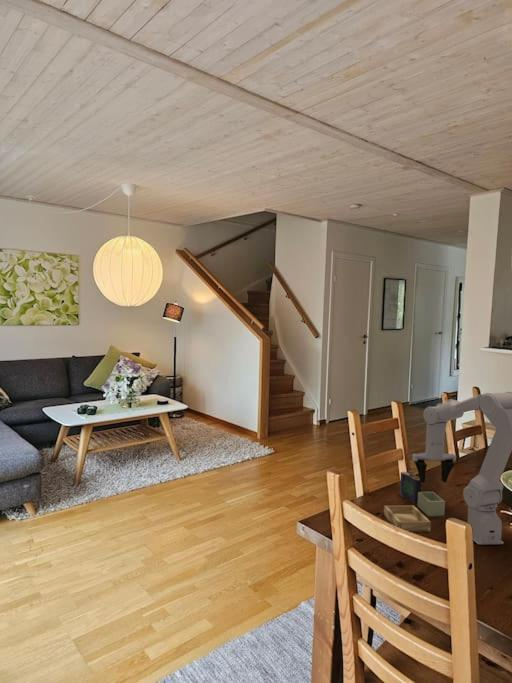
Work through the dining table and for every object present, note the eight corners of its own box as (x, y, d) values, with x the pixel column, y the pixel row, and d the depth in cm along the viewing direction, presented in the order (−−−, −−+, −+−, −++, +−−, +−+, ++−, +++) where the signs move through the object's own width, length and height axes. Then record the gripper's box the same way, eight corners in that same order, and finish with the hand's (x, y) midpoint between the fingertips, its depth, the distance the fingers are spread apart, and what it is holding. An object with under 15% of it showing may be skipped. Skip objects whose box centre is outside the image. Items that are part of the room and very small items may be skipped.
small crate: (444, 516, 148) (445, 501, 148) (428, 516, 148) (429, 501, 147) (432, 505, 156) (433, 491, 156) (417, 506, 156) (418, 491, 155)
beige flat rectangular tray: (430, 531, 137) (431, 522, 137) (398, 532, 136) (399, 522, 136) (413, 514, 149) (413, 505, 149) (383, 514, 148) (384, 505, 148)
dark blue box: (398, 495, 164) (399, 466, 164) (404, 494, 165) (405, 465, 165) (416, 506, 156) (418, 475, 155) (423, 504, 157) (424, 474, 156)
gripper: (449, 438, 157) (447, 477, 158) (409, 438, 156) (407, 477, 157) (460, 444, 150) (458, 484, 151) (418, 444, 149) (416, 485, 150)
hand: (433, 481), depth 153 cm, fingers open, 7 cm apart
